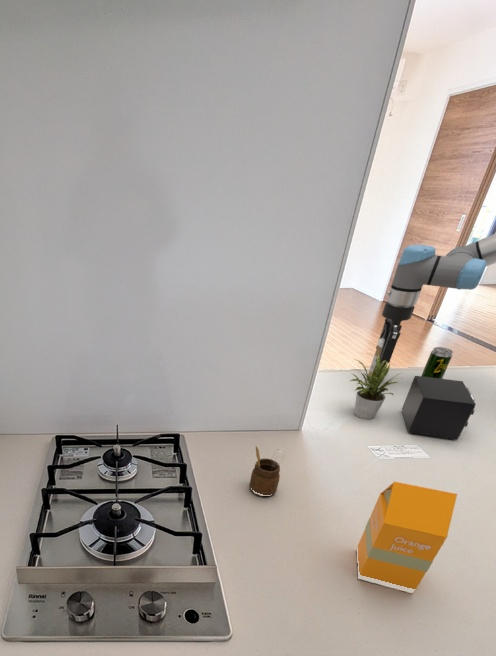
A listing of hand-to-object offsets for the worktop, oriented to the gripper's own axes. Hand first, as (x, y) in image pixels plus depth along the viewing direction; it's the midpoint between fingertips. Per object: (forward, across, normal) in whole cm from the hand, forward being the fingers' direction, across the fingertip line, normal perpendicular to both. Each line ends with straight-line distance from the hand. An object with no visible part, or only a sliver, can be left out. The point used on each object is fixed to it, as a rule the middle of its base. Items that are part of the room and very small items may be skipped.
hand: (374, 376), depth 140 cm
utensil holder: (+1, +67, -28) cm, 73 cm away
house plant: (+1, +23, -5) cm, 24 cm away
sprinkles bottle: (+1, 0, 0) cm, 1 cm away
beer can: (+1, 0, +15) cm, 15 cm away
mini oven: (+1, +25, +11) cm, 27 cm away
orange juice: (+1, +83, -5) cm, 83 cm away
